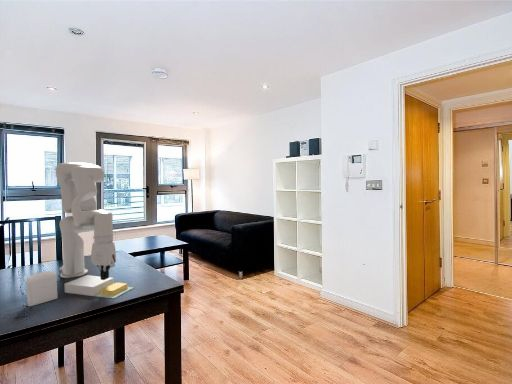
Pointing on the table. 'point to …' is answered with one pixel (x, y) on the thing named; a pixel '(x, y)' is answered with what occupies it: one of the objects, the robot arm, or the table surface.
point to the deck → (88, 285)
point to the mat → (115, 294)
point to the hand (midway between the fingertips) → (104, 278)
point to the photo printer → (41, 288)
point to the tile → (114, 288)
